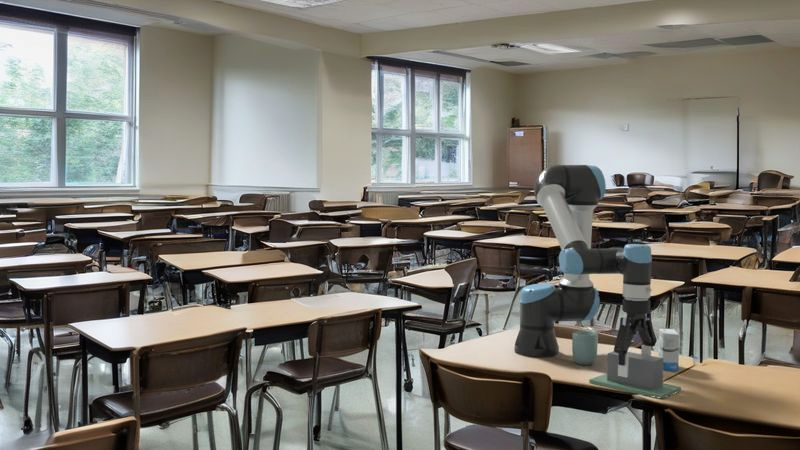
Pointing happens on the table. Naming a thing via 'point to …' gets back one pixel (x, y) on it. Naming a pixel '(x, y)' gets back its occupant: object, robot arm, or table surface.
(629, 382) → the block
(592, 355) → the cup
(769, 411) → the table surface
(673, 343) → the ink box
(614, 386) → the header
